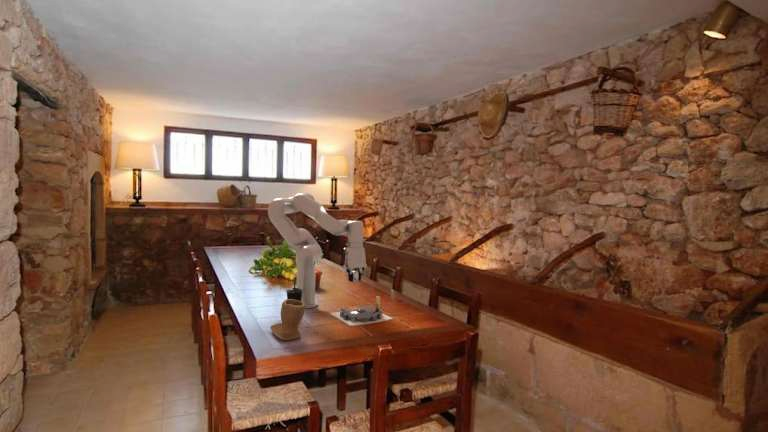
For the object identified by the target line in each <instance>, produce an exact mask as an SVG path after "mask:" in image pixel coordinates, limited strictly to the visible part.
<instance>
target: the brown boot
mask: <svg viewBox="0 0 768 432" xmlns="http://www.w3.org/2000/svg"><path fill="white" fill-rule="evenodd" d="M305 310H306V308H305V304H304V303H303V302H301V301H297V300H293V299H287V298H286V299H285V300H283V301H282V303H281V308H280V318H281V319H280V320H281V322H280V323H275V324H272V325H270V330H271V331H272V333H273V334H274V335H275V336H276V337H277V338H278V339H280V340H282V341H283V340H284V341H290V340H297V339H299V338H301V336H302V334H301V332H300V331H299V326H300V325H301V322H302V319H303V317H304V314H305V313H306V312H305Z"/></svg>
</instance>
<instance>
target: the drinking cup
mask: <svg viewBox="0 0 768 432" xmlns="http://www.w3.org/2000/svg"><path fill="white" fill-rule="evenodd" d="M296 285H297V276H294V277H293V287H291V288H289V289H286V300H287V299H293V300H297V301H301V299H302V292H303V290H302V289H299V288H297V287H296Z"/></svg>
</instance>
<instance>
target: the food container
mask: <svg viewBox="0 0 768 432" xmlns="http://www.w3.org/2000/svg"><path fill="white" fill-rule="evenodd" d="M295 274H296V275H297V271H296V272H295ZM322 275H323V272H322V271H321V270H320V269H318V268H317V269H316V268H315V291H316V290H318V289H320V284H321V278H322Z"/></svg>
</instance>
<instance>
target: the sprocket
mask: <svg viewBox="0 0 768 432" xmlns="http://www.w3.org/2000/svg"><path fill="white" fill-rule="evenodd" d="M339 312H340V316H343V319H350V320H351V321H362V322H367V321H369V320H372V321H375V320H377V318H380V319H381V318H382V315H383V314H384V312H383V310H382V309H381V296H379V295H376V296H375V307H372V306H370V305H366V306H365V305H356V306H351V305H350V306H346V307H342V308H341V309H340V311H339Z"/></svg>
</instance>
